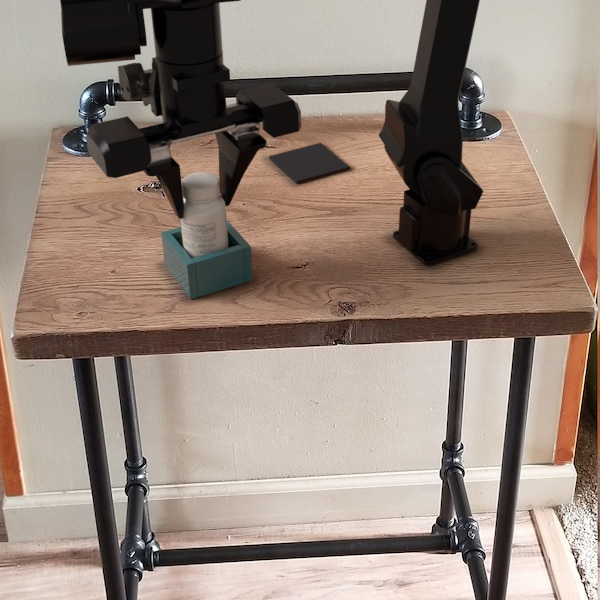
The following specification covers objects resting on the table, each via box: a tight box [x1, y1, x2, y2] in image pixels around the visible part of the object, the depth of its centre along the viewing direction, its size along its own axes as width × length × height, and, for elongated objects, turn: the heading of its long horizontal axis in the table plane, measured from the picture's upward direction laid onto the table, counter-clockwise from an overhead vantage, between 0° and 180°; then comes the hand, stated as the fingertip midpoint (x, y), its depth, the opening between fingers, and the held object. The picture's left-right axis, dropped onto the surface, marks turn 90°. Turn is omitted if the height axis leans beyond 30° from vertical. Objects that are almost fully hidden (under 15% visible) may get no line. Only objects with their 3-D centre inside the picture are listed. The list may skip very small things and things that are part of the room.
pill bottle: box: [179, 171, 228, 259], centre depth 93 cm, size 4×4×8 cm
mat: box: [268, 142, 351, 185], centre depth 115 cm, size 7×7×1 cm
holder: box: [160, 220, 254, 300], centre depth 96 cm, size 7×7×4 cm
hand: (202, 210), depth 93 cm, fingers closed on pill bottle, 4 cm apart
